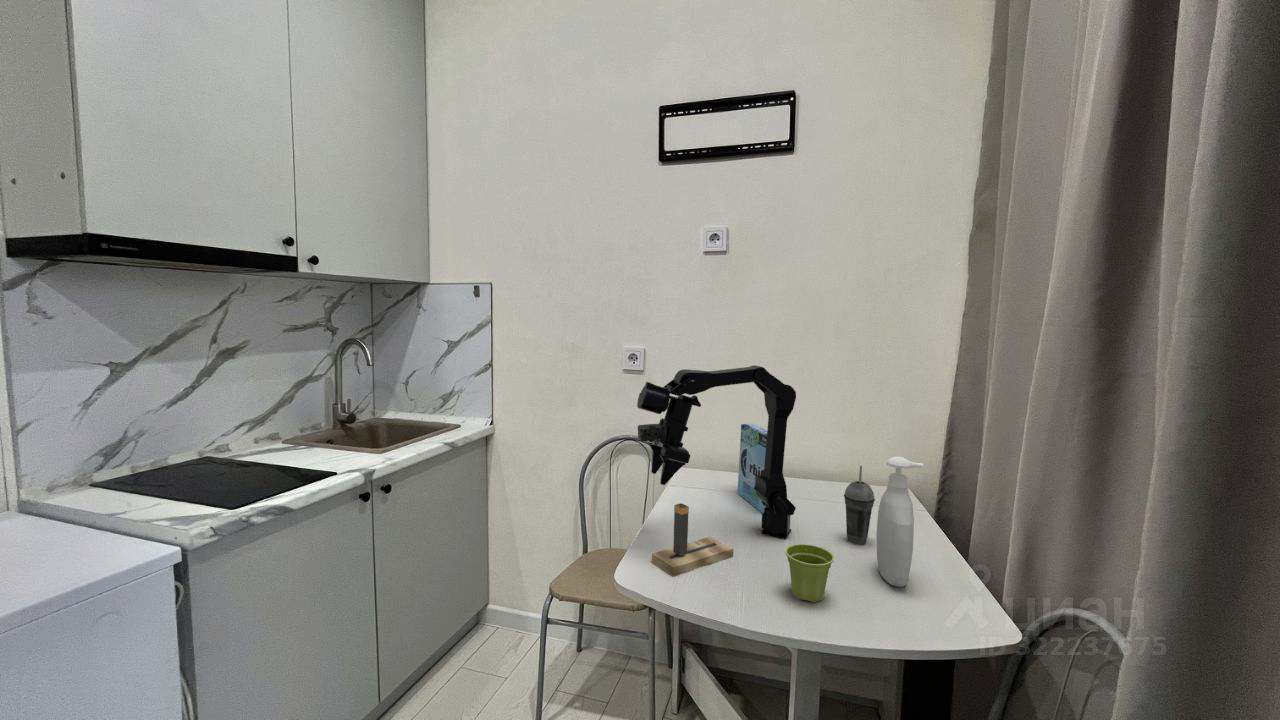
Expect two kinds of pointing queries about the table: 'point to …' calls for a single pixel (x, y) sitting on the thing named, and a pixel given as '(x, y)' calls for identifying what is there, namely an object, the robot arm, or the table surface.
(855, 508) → the beverage cup
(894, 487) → the soap bottle
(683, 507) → the fader tab
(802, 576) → the plant pot
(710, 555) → the fader track
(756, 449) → the gum box
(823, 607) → the table surface
